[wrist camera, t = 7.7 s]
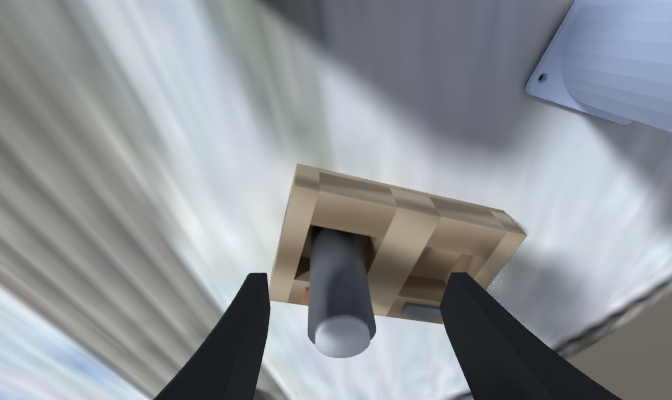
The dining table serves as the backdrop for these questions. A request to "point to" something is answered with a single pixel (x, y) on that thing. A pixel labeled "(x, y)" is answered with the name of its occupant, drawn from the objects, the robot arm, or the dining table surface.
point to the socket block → (391, 241)
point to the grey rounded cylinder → (339, 294)
